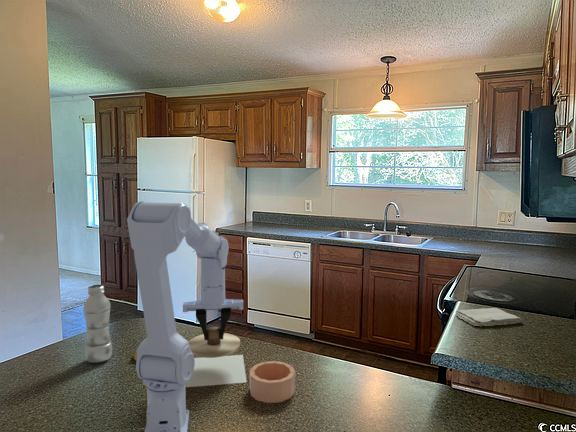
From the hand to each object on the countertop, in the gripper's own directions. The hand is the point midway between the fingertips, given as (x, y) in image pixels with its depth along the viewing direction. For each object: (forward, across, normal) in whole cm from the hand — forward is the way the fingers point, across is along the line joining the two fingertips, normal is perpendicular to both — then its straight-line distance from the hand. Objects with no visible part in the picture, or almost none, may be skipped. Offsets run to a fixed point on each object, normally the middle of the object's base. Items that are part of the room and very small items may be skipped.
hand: (213, 338), depth 104 cm
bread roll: (+9, +17, -11) cm, 22 cm away
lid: (+2, 0, 0) cm, 2 cm away
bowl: (+9, -13, +12) cm, 20 cm away
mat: (+9, 0, 0) cm, 9 cm away
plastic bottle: (+9, +30, -11) cm, 33 cm away
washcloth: (+9, -91, -23) cm, 94 cm away
